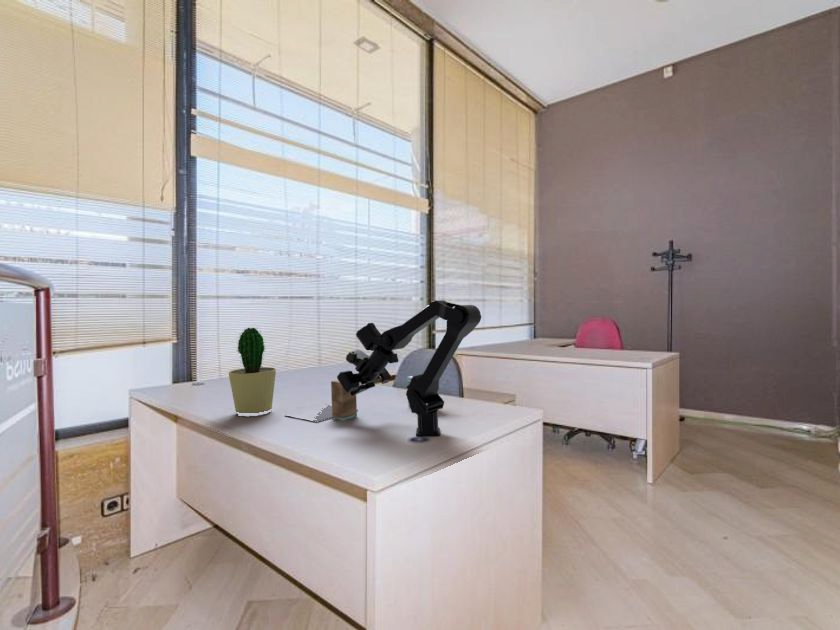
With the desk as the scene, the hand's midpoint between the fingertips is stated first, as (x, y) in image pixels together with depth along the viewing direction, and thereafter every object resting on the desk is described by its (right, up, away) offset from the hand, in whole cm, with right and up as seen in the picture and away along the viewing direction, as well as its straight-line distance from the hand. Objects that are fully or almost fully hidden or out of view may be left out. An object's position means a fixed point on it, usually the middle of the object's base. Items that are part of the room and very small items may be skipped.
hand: (351, 394), depth 141 cm
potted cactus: (-35, -9, +12) cm, 39 cm away
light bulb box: (+23, -7, +13) cm, 27 cm away
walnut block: (-3, -8, +2) cm, 9 cm away
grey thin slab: (-11, -8, +9) cm, 17 cm away
